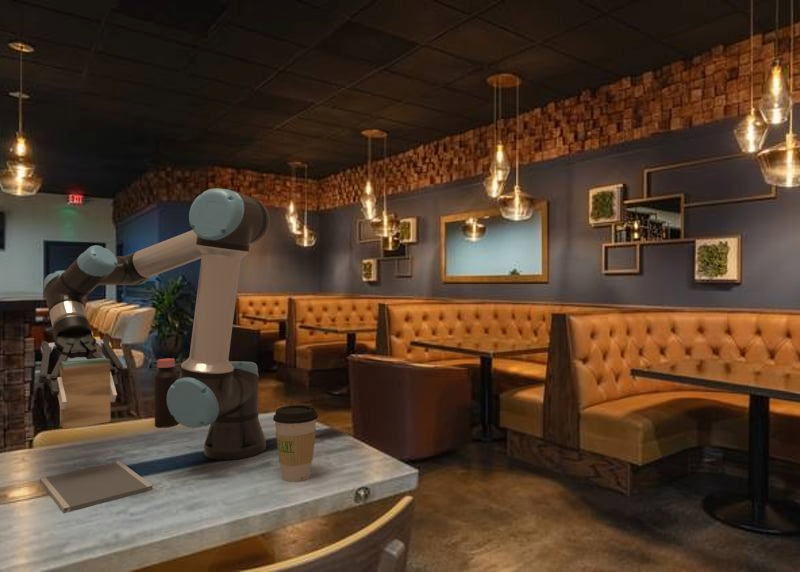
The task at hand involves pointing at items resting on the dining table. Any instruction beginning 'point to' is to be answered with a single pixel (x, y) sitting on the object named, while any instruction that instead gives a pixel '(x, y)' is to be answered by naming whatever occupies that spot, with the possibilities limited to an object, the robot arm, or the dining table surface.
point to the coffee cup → (295, 440)
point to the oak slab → (85, 392)
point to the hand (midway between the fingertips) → (89, 401)
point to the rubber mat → (93, 485)
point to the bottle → (164, 392)
